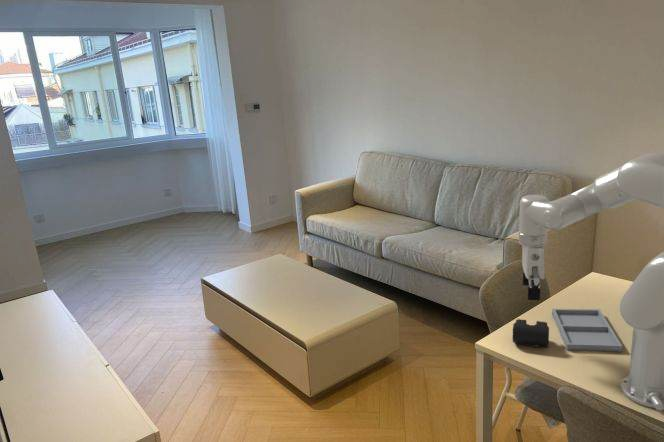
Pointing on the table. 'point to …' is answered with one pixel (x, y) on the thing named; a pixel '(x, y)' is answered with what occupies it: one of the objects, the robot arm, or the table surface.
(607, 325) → the divided grey tray
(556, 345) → the table surface
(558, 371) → the table surface
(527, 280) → the robot arm
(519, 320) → the end cap
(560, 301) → the table surface
